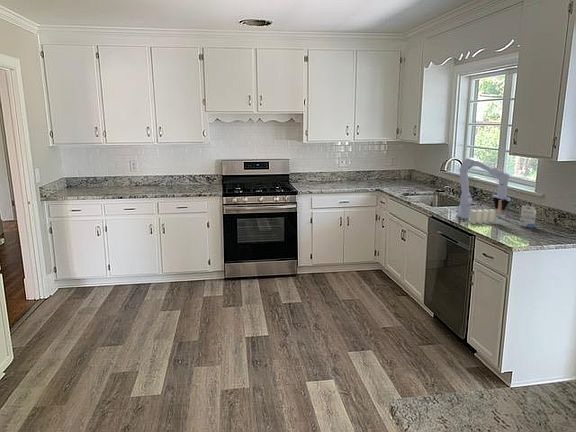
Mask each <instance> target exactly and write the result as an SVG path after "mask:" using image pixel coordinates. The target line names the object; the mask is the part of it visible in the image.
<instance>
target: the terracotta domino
mask: <svg viewBox="0 0 576 432" xmlns="http://www.w3.org/2000/svg"><path fill="white" fill-rule="evenodd" d="M501 200H502V199H501ZM501 200H499V201H498V209H497V210H496V211H497V213H498V214H499V215H502V214H503V210H502V202H501ZM497 213H496V214H497Z"/></svg>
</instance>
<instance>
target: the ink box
mask: <svg viewBox="0 0 576 432" xmlns="http://www.w3.org/2000/svg"><path fill="white" fill-rule="evenodd" d="M536 216H537V209H536V207H535V206H531V205H521V209H520V216H519V223H518V225H519V227H524V228H526V227H527V228H531V229H532V228H534V227H535V222H536Z"/></svg>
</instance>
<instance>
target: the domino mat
mask: <svg viewBox="0 0 576 432" xmlns="http://www.w3.org/2000/svg"><path fill="white" fill-rule="evenodd" d="M469 221H470V219H469V220H467V219H466V220H464V222H466V223H468V224H471V225H474V226H476V225H487V224H486V223H484V222H482V224H479V223H477V222H476V224H472V223H470V222H469ZM502 224H505V225H506V224H510V222H508V221H505V220H503V219H500V218H499V219H498V218H496V221H495V223H491V222H489V224H488V225H502Z"/></svg>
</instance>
